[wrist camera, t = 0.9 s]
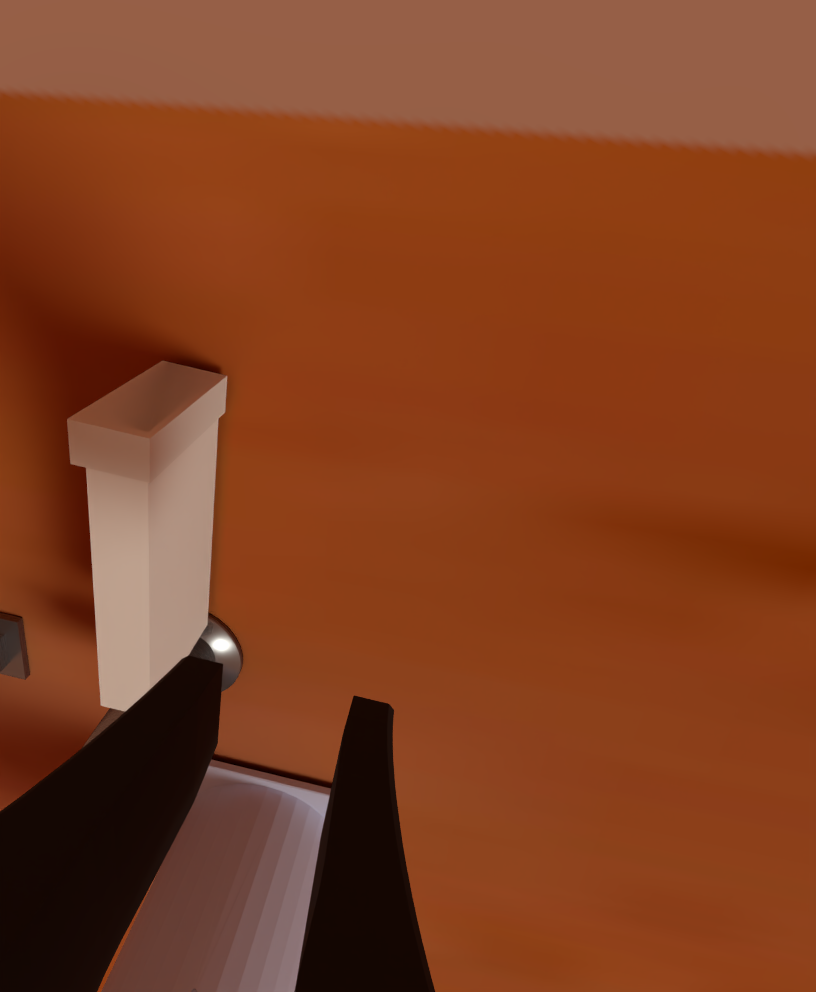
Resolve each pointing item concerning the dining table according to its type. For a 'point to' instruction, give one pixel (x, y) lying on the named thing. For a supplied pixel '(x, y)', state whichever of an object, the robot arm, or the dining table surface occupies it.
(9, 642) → the latch block
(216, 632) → the pivot post
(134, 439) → the lipped cream column
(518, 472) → the dining table surface
